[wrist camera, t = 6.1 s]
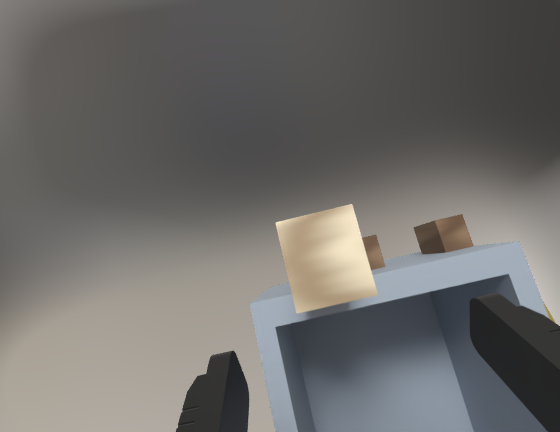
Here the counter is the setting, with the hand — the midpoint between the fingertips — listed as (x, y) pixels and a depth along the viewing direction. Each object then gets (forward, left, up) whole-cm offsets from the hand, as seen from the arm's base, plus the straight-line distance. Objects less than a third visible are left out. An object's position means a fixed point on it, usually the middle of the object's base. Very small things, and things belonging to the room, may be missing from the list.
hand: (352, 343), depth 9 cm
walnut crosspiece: (+9, +19, +1) cm, 21 cm away
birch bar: (0, +13, +1) cm, 13 cm away
